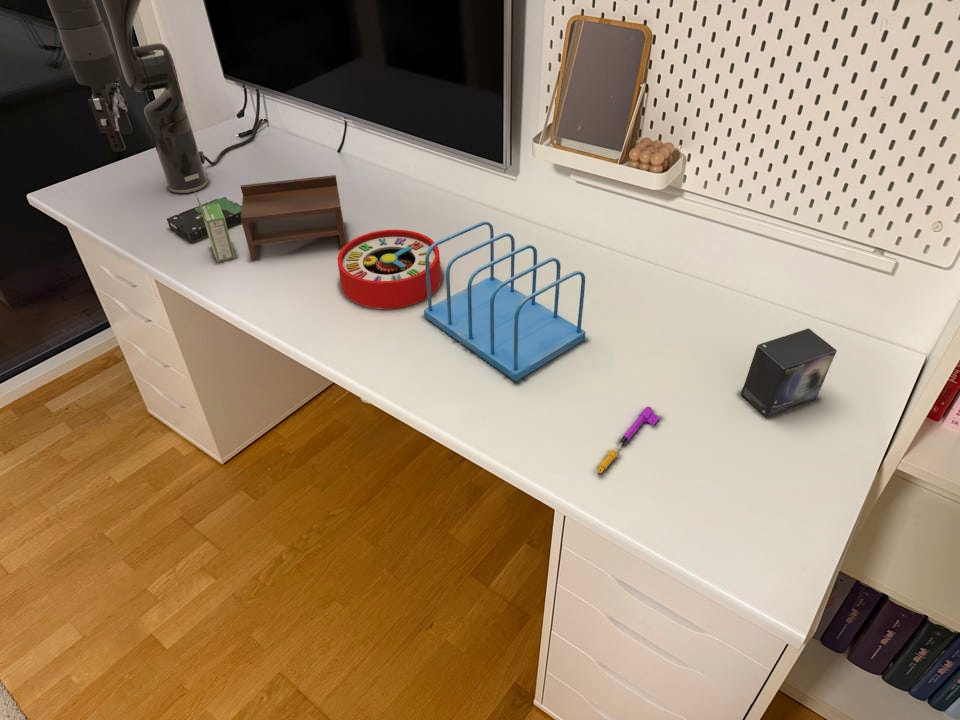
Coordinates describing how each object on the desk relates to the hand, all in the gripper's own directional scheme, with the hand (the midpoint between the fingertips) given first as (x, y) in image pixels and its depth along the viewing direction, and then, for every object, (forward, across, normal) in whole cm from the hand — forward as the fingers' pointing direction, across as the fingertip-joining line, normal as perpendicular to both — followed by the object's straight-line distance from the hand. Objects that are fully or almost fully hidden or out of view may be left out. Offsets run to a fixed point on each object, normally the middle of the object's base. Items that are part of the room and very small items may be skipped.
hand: (123, 141), depth 130 cm
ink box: (+26, 0, -12) cm, 29 cm away
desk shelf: (+26, +1, -28) cm, 38 cm away
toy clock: (+26, -20, -46) cm, 56 cm away
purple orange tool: (+26, -73, -75) cm, 108 cm away
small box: (+27, -69, -102) cm, 126 cm away
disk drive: (+26, +14, -8) cm, 31 cm away
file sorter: (+26, -41, -63) cm, 80 cm away
